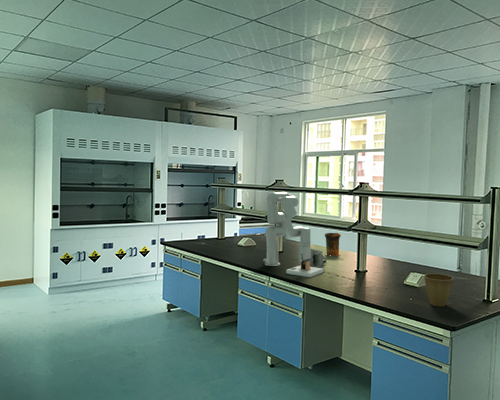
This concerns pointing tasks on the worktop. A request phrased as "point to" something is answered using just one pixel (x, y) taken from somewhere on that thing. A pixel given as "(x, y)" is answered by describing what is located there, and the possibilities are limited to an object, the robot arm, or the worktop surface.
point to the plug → (307, 265)
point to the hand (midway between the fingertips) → (305, 268)
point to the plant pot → (438, 288)
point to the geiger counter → (317, 258)
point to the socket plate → (305, 271)
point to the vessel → (332, 243)
